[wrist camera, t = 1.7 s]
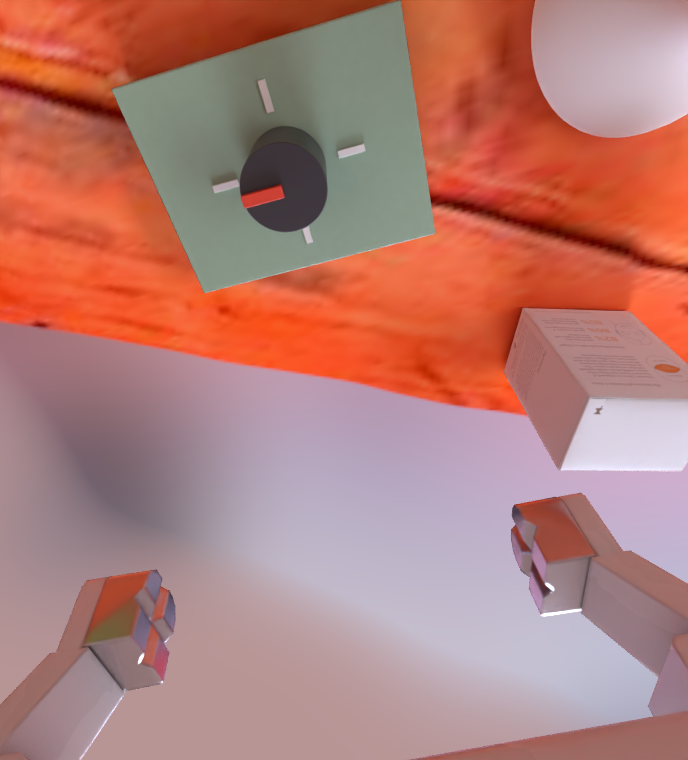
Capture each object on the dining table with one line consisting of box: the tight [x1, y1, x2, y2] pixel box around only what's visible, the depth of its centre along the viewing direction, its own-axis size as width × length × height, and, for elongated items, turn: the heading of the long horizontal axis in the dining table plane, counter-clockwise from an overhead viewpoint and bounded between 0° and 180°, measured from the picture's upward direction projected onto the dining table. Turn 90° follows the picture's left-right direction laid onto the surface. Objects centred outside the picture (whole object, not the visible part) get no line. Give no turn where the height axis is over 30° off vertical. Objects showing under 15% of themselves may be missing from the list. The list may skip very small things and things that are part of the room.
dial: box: [240, 126, 328, 232], centre depth 25 cm, size 4×4×4 cm
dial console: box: [112, 0, 435, 293], centre depth 28 cm, size 14×11×3 cm
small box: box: [504, 308, 688, 471], centre depth 33 cm, size 8×6×10 cm
